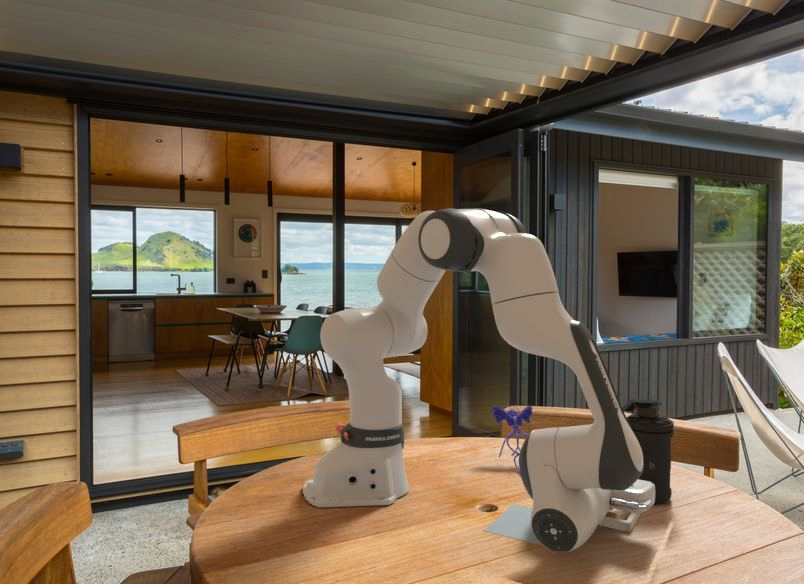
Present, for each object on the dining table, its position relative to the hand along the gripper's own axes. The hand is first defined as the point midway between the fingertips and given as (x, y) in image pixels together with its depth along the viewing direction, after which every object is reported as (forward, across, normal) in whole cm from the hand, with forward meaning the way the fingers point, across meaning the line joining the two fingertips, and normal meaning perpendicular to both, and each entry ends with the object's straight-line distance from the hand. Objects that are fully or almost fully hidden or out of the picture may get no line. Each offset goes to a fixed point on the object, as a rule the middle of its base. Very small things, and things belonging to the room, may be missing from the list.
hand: (603, 473), depth 115 cm
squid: (+24, +28, +8) cm, 37 cm away
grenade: (+15, -4, +9) cm, 18 cm away
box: (-1, 0, +8) cm, 8 cm away
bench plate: (-14, +8, +8) cm, 18 cm away
